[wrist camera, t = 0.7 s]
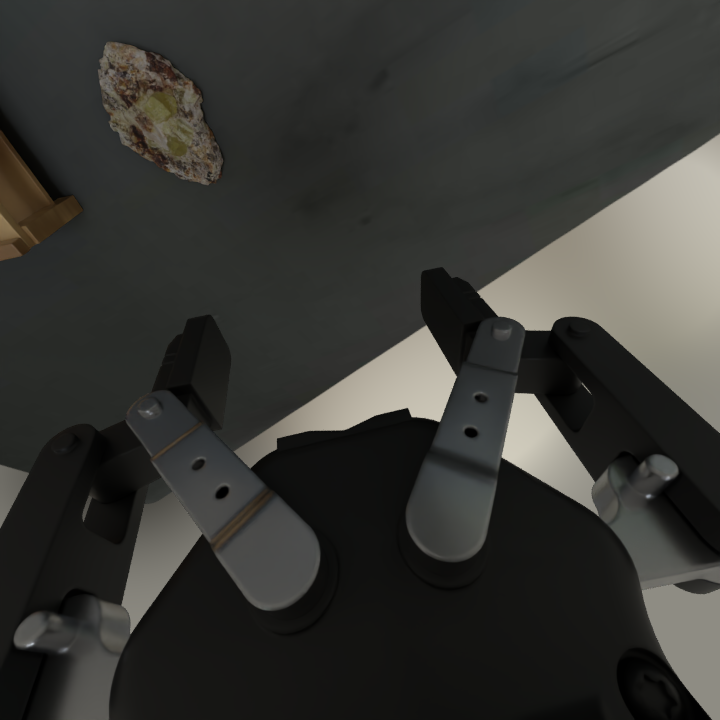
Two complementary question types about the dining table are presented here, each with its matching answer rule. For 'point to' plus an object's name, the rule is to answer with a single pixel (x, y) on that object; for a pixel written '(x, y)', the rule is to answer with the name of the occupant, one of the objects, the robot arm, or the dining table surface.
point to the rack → (27, 206)
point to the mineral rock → (158, 113)
